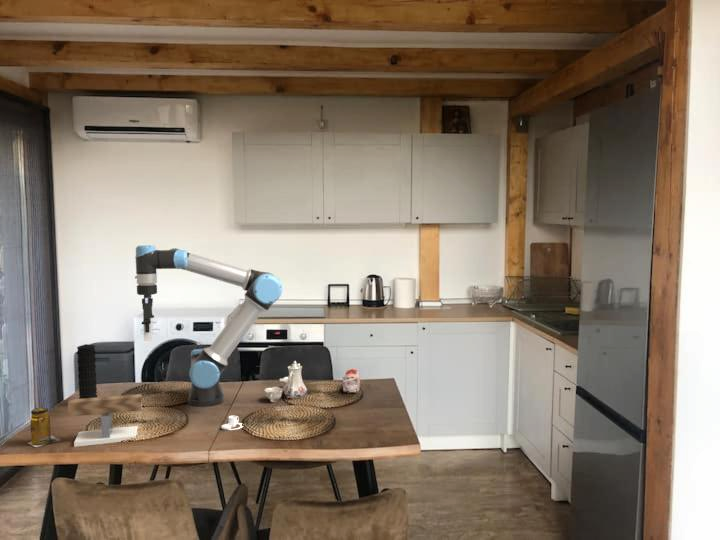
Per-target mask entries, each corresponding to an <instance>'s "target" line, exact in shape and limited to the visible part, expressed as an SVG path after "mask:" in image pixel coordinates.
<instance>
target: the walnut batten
mask: <svg viewBox="0 0 720 540" xmlns="http://www.w3.org/2000/svg"><path fill="white" fill-rule="evenodd" d="M142 409H143V395H142V393H137V394H125V395H113V396H110V395H109V396H100V397H98V396H97V398H84V399H79V398H76V399H75V398H74V399H69V401H68V402H67V416H68V417H69V418H70V417H71V418H73V417H82V416H84V417H85V416H93V415H102V414H108V413H112V414H115V413H116V414H119V413H130V412H141V411H142Z"/></svg>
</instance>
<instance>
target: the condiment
mask: <svg viewBox="0 0 720 540" xmlns="http://www.w3.org/2000/svg"><path fill="white" fill-rule="evenodd" d="M30 415H31V417H30V421H29V422H30V437H31V438H30V440H31V441H28V442H27V444H29V445H30V446H32V447H35V448H39V447H42V446H45V445H49V444H52V443H55V442H56V443H57V442H59V441H60V439H59V438H56V437H54V435H52V434H51V432H52V431H51V417H50V414H49V408H48V407H36V408H33V409H32V410H31V411H30Z"/></svg>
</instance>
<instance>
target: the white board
mask: <svg viewBox="0 0 720 540" xmlns="http://www.w3.org/2000/svg"><path fill="white" fill-rule="evenodd" d="M137 429H138V430H139V425H135V426H122V427H114V428H113V427H112V432H111V435H110V438H103V439H102V429H97V430H96V429H95V430H85V431H79V432H78V434H77V435H76V438H75V440H74V441H73V446H74V448H76V447H84V446H93V445H95V446H96V445H104V444H112V443H121V441H122V440H126V439H130V438H136V435H137V436H138V433H137ZM136 439H137V438H136Z"/></svg>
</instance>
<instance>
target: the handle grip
mask: <svg viewBox="0 0 720 540" xmlns="http://www.w3.org/2000/svg"><path fill="white" fill-rule="evenodd" d="M95 347H96V346H95V345H94V344H86V343H85V344H82V345H79V346H77V347H76V349H77V352H76V353H77V370H78V372H77V373H78V375H77V376H78V377H77V378H78V388H79V389H78V393H79V394H78V395H79V398H78V399H84V398H97V397H98V395H97V394H98V392H97V391H98V390H97V389H98V387H97V386H98V385H97V373H96V372H97V370H96V369H97V365H96V361H97V360H96V349H95Z"/></svg>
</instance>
